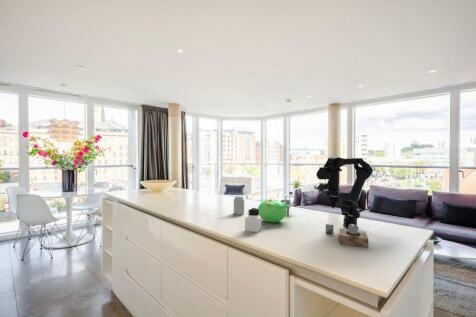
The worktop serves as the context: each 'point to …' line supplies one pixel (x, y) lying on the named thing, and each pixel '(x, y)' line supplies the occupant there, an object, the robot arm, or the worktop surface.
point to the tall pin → (353, 229)
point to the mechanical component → (287, 204)
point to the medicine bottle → (253, 220)
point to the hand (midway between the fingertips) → (333, 206)
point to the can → (238, 206)
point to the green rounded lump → (272, 210)
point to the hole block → (353, 238)
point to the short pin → (329, 228)
